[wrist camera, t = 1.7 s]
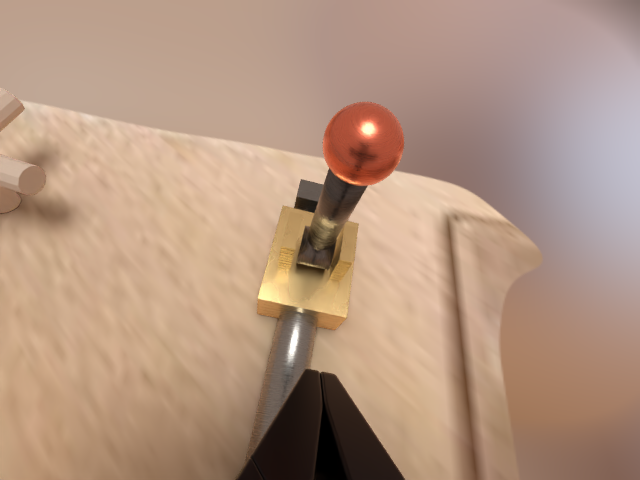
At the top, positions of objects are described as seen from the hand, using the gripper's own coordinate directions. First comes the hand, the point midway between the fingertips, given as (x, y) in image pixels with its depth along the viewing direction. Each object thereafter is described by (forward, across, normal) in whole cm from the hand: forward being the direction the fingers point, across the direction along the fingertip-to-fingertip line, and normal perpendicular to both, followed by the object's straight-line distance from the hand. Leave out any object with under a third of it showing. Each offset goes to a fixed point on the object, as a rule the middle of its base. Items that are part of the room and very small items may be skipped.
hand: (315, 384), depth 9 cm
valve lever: (+13, 0, +1) cm, 13 cm away
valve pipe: (+12, 0, +7) cm, 14 cm away
